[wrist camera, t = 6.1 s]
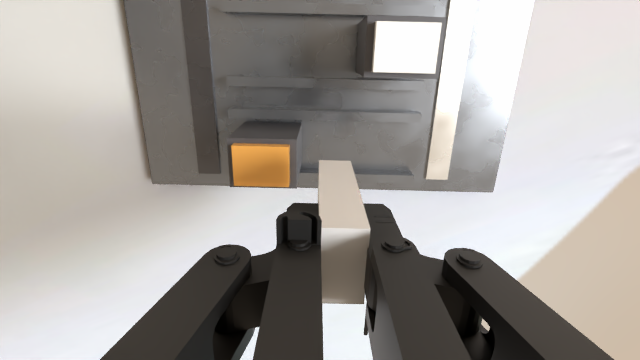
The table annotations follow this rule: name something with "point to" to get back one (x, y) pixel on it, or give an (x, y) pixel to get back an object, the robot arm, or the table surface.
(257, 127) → the block
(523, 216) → the table surface
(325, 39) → the panel
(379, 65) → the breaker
